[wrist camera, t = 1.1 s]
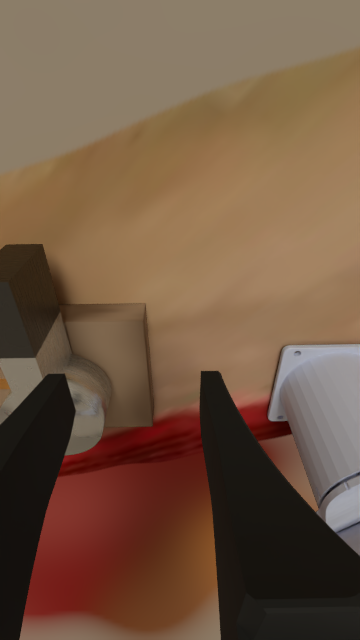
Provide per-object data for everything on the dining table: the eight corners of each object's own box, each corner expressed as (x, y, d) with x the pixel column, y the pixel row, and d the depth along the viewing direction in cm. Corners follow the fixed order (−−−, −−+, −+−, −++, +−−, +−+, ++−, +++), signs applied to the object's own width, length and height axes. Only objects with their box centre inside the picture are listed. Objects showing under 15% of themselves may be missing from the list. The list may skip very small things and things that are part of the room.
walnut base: (145, 303, 21) (142, 323, 19) (154, 405, 26) (152, 428, 25) (-25, 305, 21) (-44, 325, 19) (20, 408, 26) (9, 431, 25)
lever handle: (116, 413, 23) (106, 469, 20) (34, 414, 23) (9, 471, 20) (84, 243, 16) (59, 285, 12) (-36, 245, 16) (-96, 287, 12)
